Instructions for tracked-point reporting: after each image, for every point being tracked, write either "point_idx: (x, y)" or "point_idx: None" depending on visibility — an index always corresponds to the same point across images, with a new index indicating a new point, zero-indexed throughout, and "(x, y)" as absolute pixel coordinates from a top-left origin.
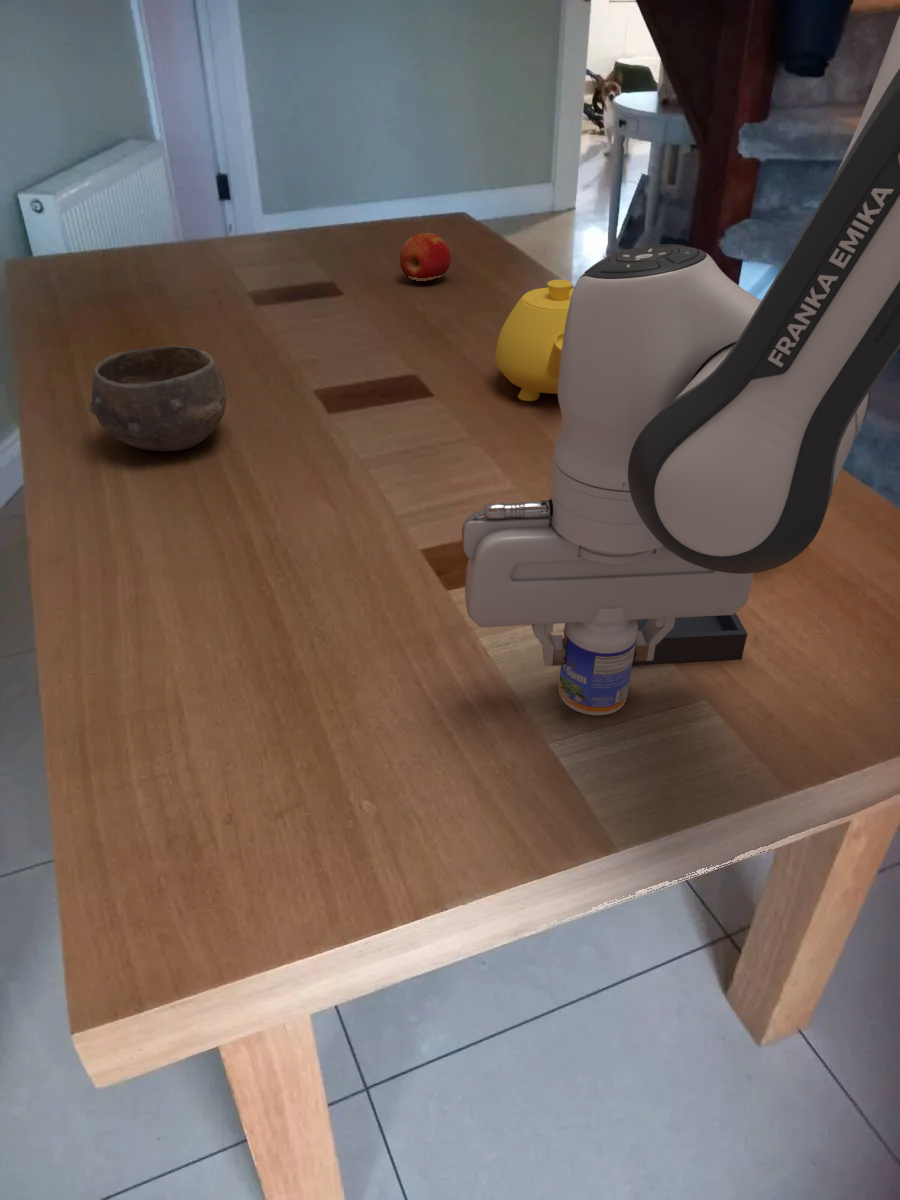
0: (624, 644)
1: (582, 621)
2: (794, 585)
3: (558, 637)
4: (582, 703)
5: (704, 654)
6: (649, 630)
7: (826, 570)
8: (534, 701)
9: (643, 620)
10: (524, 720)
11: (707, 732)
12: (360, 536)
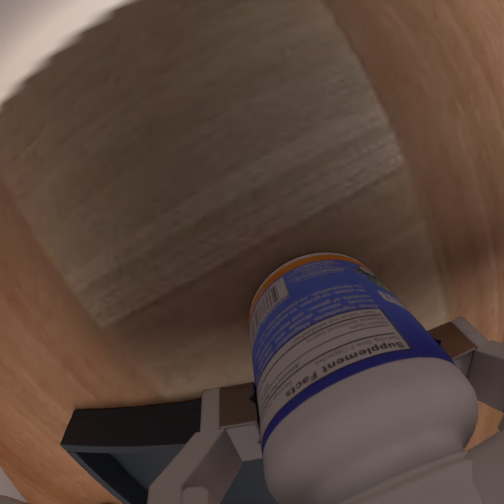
0: (326, 413)
1: (501, 436)
2: (65, 485)
3: None
4: (355, 263)
5: (120, 417)
6: (223, 467)
7: (49, 491)
8: (417, 274)
9: None
10: (437, 222)
11: (86, 244)
12: None
